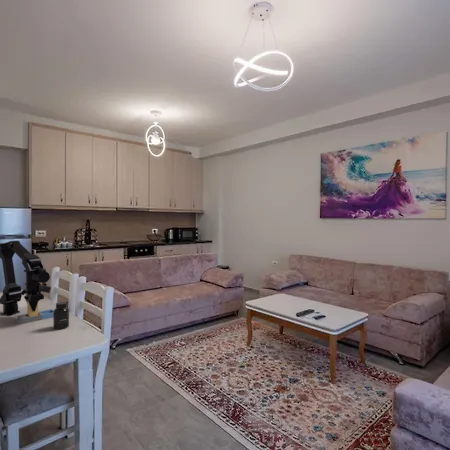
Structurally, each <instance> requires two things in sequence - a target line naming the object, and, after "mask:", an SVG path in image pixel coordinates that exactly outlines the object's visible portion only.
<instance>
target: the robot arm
mask: <svg viewBox="0 0 450 450" xmlns="http://www.w3.org/2000/svg"><path fill="white" fill-rule="evenodd" d="M14 255H17V256H18V257H19V258H20V259H21V264H22V265H23V267H24V270H23V272H24V273H25V283H24V286H25V288H23V290H22V287H21V285H18V283H17V281H16V280H17V279H16V274H15V269H14V267H15V265H14V260H13V257H14ZM0 259H1V263H2V271H3V277H4V284H5V285H4V287H3V289H2V294H1V296H0V305H2V311H3V312H2V313H0V315H1V316H3V315H4V316H13V315H16V314H18V313H21V310H19V304H18V302H21V300H22V296H23V298H24V300H25V301H26V303H27V300H28V302H29V304H30V307H31V309H32V311H33V312H34V311H35V310H36V307H37V303H38V304H39V301H40V300H44V299H45V295H44V294H43V293H42V292H44V293H47V294H50V292H51V291H52V290H51V289H52V286H50V285H48V284H47V283H48V281H49V280H50V277H51V275H50V273H49V272H48V271H47V269H46V267H45V264H44V263H43V261H42V259H41V258H40V257H39V256H38V255H36V254H34V253H31V252H30V251H29V250H28V249H26V247H25V246H24V245H23V244H22V243H21V242H20V241H19V240H10V241H7V242H2V243H1V242H0Z"/></svg>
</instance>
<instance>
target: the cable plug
mask: <svg viewBox="0 0 450 450" xmlns="http://www.w3.org/2000/svg"><path fill="white" fill-rule="evenodd" d="M26 305H27V314H28V317H32V316H37V315H38V312H39V302H38V303H37V307H36V310H35V311H34V312H33V311H32V309H31V307H30V304H29V302H28V300H27V302H26Z"/></svg>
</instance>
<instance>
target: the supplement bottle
mask: <svg viewBox="0 0 450 450" xmlns="http://www.w3.org/2000/svg"><path fill="white" fill-rule="evenodd" d="M55 308H56V309H55ZM55 308H54V309H55V310H54V312H53V317H52V319H53V322H52V325H53V329H54V330H64V329H68V328H69V326H70V309H69V307H68V302H67V301H59V302H57V303H55Z"/></svg>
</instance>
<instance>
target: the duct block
mask: <svg viewBox="0 0 450 450" xmlns="http://www.w3.org/2000/svg"><path fill="white" fill-rule="evenodd" d="M55 309H56V307H55V308H51V309H46V310H40V311H39V310H38V315H37V316H32V317H28V313H24V314H18V315H17V316H16V321H17V322H18V323H19V324H20V325H23V324H27V323H31V322H36V321H42V320H47V319H53V312H54V310H55Z"/></svg>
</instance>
